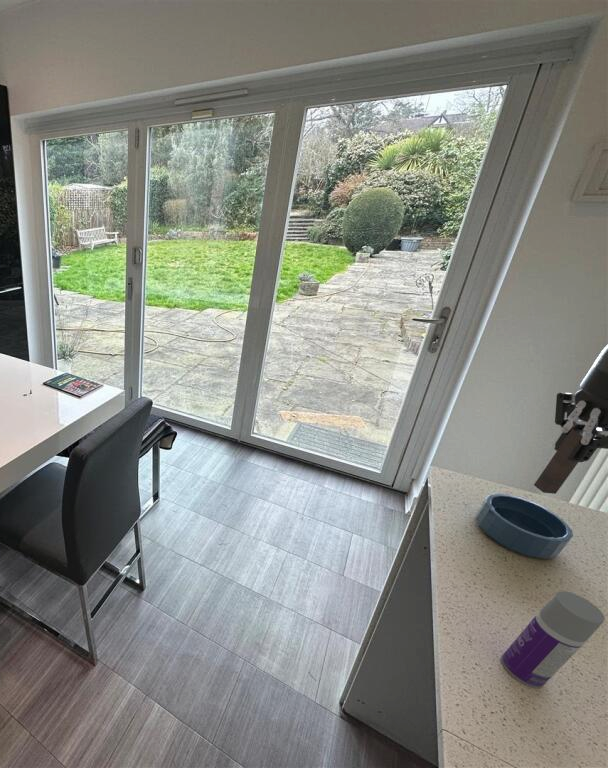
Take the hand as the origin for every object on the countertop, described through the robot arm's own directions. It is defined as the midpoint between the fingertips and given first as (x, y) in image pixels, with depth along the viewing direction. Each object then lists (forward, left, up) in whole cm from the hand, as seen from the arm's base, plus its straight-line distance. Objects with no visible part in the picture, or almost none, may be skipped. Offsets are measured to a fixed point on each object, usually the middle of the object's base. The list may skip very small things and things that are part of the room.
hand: (568, 455), depth 74 cm
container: (+20, +28, -20) cm, 40 cm away
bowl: (0, 0, -20) cm, 20 cm away
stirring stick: (0, 0, -8) cm, 8 cm away
